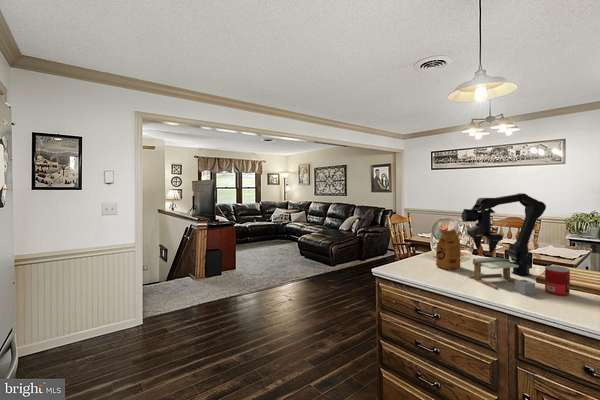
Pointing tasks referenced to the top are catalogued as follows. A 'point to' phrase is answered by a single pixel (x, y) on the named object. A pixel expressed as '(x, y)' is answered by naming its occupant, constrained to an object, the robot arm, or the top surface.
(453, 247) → the coffee package
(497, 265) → the trapdoor
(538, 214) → the robot arm
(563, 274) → the canned food
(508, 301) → the top surface
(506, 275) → the frame
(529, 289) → the stone
